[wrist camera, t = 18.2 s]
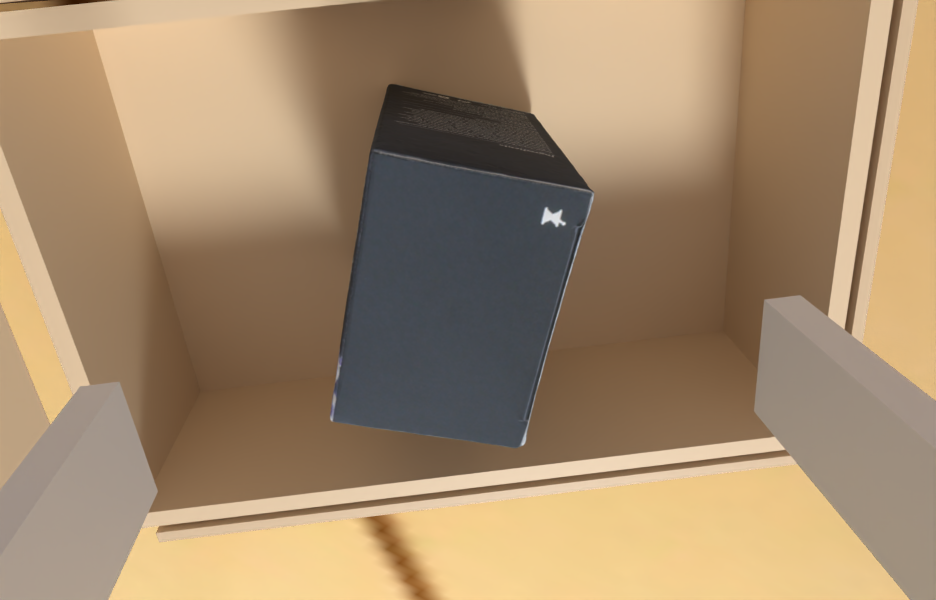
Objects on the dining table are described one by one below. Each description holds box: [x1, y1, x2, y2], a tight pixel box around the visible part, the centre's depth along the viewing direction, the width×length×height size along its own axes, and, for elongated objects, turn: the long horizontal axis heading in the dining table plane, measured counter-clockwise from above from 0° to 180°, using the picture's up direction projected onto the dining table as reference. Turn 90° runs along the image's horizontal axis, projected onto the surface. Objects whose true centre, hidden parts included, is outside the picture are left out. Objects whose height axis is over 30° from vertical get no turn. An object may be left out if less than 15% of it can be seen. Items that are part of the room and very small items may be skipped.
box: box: [330, 84, 594, 448], centre depth 23 cm, size 8×6×11 cm
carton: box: [0, 0, 918, 542], centre depth 25 cm, size 25×17×9 cm
